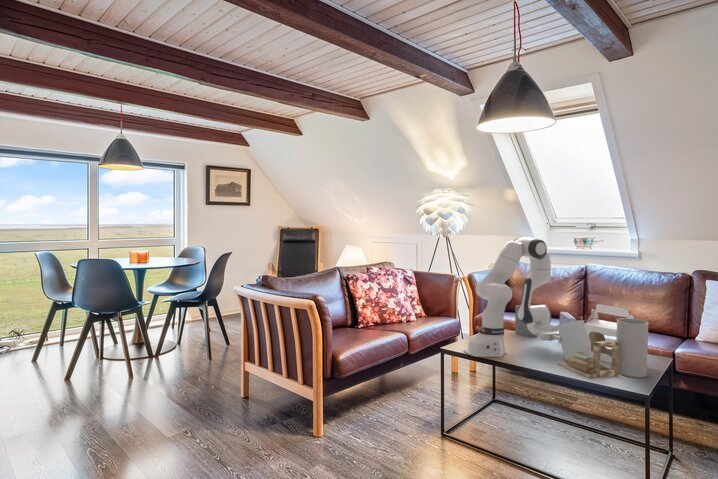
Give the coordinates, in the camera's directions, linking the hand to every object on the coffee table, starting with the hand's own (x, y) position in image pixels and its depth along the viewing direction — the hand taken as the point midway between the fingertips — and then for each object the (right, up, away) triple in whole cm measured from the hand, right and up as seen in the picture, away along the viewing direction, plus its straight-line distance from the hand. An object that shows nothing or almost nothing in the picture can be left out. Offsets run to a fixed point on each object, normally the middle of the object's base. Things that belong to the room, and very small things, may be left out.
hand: (565, 338), depth 231 cm
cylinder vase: (+20, -12, -23) cm, 33 cm away
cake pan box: (+13, -10, +27) cm, 31 cm away
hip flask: (-2, -9, +50) cm, 51 cm away
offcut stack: (-3, -10, -21) cm, 23 cm away
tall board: (+2, -8, -9) cm, 12 cm away
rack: (+2, -11, -18) cm, 21 cm away
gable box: (+23, -11, -1) cm, 26 cm away
